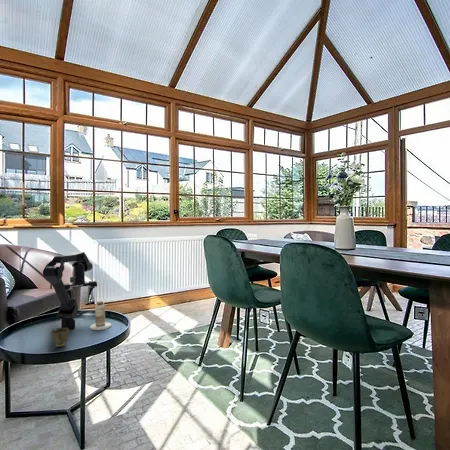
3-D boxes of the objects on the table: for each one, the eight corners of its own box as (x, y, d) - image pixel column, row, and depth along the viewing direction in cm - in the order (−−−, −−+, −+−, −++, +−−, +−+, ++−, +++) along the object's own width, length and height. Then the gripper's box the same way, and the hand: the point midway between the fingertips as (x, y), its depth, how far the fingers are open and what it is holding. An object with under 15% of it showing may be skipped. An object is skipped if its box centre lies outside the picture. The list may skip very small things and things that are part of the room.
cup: (63, 342, 161) (62, 326, 161) (72, 345, 158) (72, 328, 158) (48, 347, 155) (47, 330, 155) (57, 350, 151) (57, 332, 151)
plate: (92, 331, 177) (91, 329, 177) (88, 326, 187) (88, 324, 187) (113, 327, 183) (113, 325, 183) (108, 322, 192) (108, 321, 192)
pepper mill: (102, 326, 182) (101, 303, 182) (93, 326, 183) (93, 302, 183) (106, 324, 187) (106, 300, 187) (98, 323, 188) (98, 300, 188)
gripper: (93, 270, 207) (94, 295, 207) (60, 273, 197) (60, 299, 197) (97, 272, 197) (97, 298, 197) (62, 275, 187) (62, 303, 188)
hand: (79, 299), depth 195 cm, fingers open, 9 cm apart
